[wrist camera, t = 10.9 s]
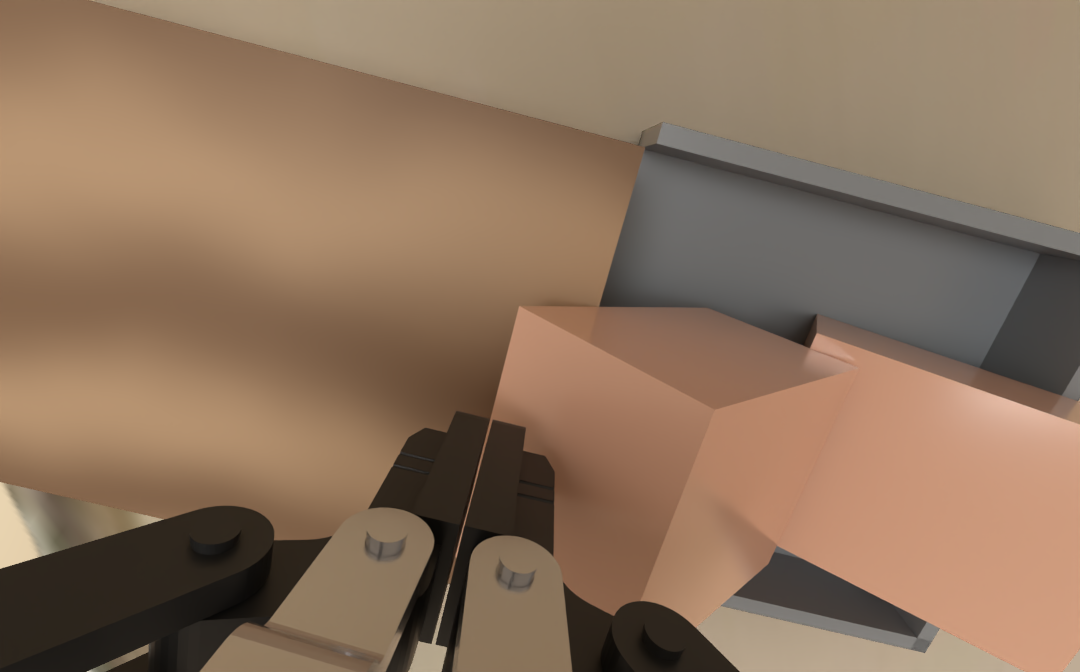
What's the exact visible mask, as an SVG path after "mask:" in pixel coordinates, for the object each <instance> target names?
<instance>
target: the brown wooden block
mask: <svg viewBox="0 0 1080 672" xmlns="http://www.w3.org/2000/svg"><path fill="white" fill-rule="evenodd" d="M644 150H645V147H642V146H638V145H635V144H631V143H627V142H623V141H619V140H616V139H612V138H608V137H604V136H600V135H597V134H593V133H589V132H585V131H581V130H578V129H574V128H570V127H566V126H563V125H559V124H555V123H551V122H547V121H544V120H540V119H536V118H532V117H528V116H525V115H521V114H517V113H513V112H510V111H506V110H502V109H498V108H494V107H491V106H487V105H483V104H479V103H475V102H472V101H468V100H464V99H460V98H457V97H453V96H449V95H445V94H441V93H438V92H434V91H430V90H426V89H422V88H419V87H415V86H411V85H407V84H403V83H400V82H396V81H392V80H388V79H385V78H381V77H377V76H373V75H369V74H366V73H362V72H358V71H354V70H350V69H347V68H343V67H339V66H335V65H332V64H328V63H324V62H320V61H316V60H313V59H309V58H305V57H301V56H297V55H294V54H290V53H286V52H282V51H279V50H275V49H271V48H267V47H263V46H260V45H256V44H252V43H248V42H244V41H241V40H237V39H233V38H229V37H225V36H222V35H218V34H214V33H210V32H207V31H203V30H199V29H195V28H191V27H188V26H184V25H180V24H176V23H172V22H169V21H165V20H161V19H157V18H154V17H150V16H146V15H142V14H138V13H135V12H131V11H127V10H123V9H119V8H116V7H112V6H108V5H104V4H101V3H97V2H93V1H89V0H0V482H3V483H7V484H12V485H16V486H21V487H25V488H29V489H34V490H38V491H43V492H47V493H51V494H56V495H60V496H65V497H69V498H73V499H78V500H82V501H87V502H91V503H95V504H100V505H104V506H109V507H113V508H117V509H122V510H126V511H131V512H135V513H139V514H144V515H148V516H153V517H157V518H161V519H168V518H171V517H174V516H178V515H181V514H184V513H188V512H191V511H194V510H198V509H202V508H207V507H213V506H239V507H245V508H249V509H252V510H254V511H257V512H259V513H261V514H262V515H264V516H265V517H266V518H267V519H268V520H269V521H270V522H271V524H272V526H273V528H274V540H310V539H320V538H326V537H330V536H333V535H334V534H335V532H336V531H337V530H338V528H339V527H340V526H341V524H342V523H343V522H344V521H345V520H346V519H348V518H349V517H350V516H352V515H354V514H356V513H358V512H361V511H364V510H368V508H369V506H370V504H371V503H372V501H373V499H374V497H375V496H376V494H377V492H378V490H379V488H380V487H381V485H382V483H383V481H384V480H385V478H386V476H387V474H388V473H389V471H390V469H391V467H393V464H394V462H395V460H396V458H397V457H398V455H399V454H400V451H401V449H402V448H403V446H404V444H405V442H406V441H407V439H408V437H410V436H411V435H413V434H415V433H417V432H418V431H420V430H422V429H423V428H430V429H434V430H438V431H442V432H446V433H447V431H448V429H449V426H450V424H451V422H452V419H453V417H454V415H455V412H456V411H460V412H464V413H468V414H473V415H477V416H481V417H485V418H489V419H491V415H492V411H493V407H494V403H495V399H496V395H497V391H498V387H499V383H500V379H501V375H502V371H503V368H504V364H505V360H506V356H507V352H508V348H509V344H510V340H511V336H512V332H513V328H514V324H515V320H516V316H517V313H518V309H519V306H572V307H599V305H600V301H601V298H602V294H603V291H604V287H605V284H606V280H607V277H608V274H609V270H610V267H611V263H612V260H613V256H614V253H615V250H616V246H617V243H618V239H619V236H620V232H621V229H622V225H623V222H624V219H625V215H626V212H627V208H628V205H629V201H630V198H631V195H632V191H633V188H634V184H635V181H636V177H637V174H638V170H639V167H640V164H641V160H642V157H643V153H644ZM489 423H490V420H489ZM488 426H489V425H488ZM487 430H488V429H487ZM486 434H487V433H486ZM485 438H486V437H485ZM484 442H485V441H484ZM460 537H461V536H460ZM457 548H458V547H457ZM456 552H457V551H456ZM455 556H456V555H455ZM455 562H456V557H455V559H454V562H453V566H452V570H451V573H450V577H449V581H448V584H450V583H451V579H452V575H453V571H454V566H455Z"/></svg>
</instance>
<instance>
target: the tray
mask: <svg viewBox="0 0 1080 672" xmlns="http://www.w3.org/2000/svg"><path fill="white" fill-rule="evenodd" d="M638 146H642V147H645V150H644V153H643V157H642V160H641V164H640V167H639V170H638V174H637V177H636V181H635V184H634V188H633V191H632V195H631V198H630V201H629V205H628V208H627V212H626V215H625V219H624V222H623V225H622V229H621V232H620V236H619V239H618V243H617V246H616V250H615V253H614V256H613V260H612V263H611V267H610V270H609V274H608V277H607V280H606V284H605V287H604V291H603V294H602V298H601V301H600V305H599V307H687V308H709V309H712V310H715V311H717V312H720V313H722V314H725V315H727V316H730V317H732V318H735V319H737V320H740V321H742V322H745V323H747V324H750V325H752V326H755V327H757V328H760V329H762V330H765V331H768V332H770V333H773V334H775V335H778V336H780V337H783V338H785V339H788V340H790V341H793V342H795V343H798V344H800V345H803V344H804V342H805V340H806V338H807V336H808V333H809V331H810V329H811V327H812V324H813V322H814V320H815V318H816V316H817V314H820V315H823V316H826V317H829V318H831V319H834V320H837V321H840V322H843V323H846V324H849V325H852V326H855V327H858V328H861V329H864V330H867V331H870V332H873V333H876V334H879V335H882V336H885V337H888V338H891V339H894V340H897V341H900V342H903V343H906V344H909V345H912V346H915V347H918V348H921V349H924V350H927V351H930V352H933V353H936V354H939V355H942V356H945V357H948V358H951V359H954V360H957V361H960V362H963V363H966V364H969V365H972V366H975V367H978V368H981V369H984V370H987V371H989V372H992V373H995V374H998V375H1001V376H1004V377H1007V378H1010V379H1013V380H1016V381H1019V382H1022V383H1025V384H1028V385H1031V386H1034V387H1037V388H1040V389H1043V390H1046V391H1049V392H1052V393H1055V394H1058V395H1061V396H1064V397H1067V398H1070V399H1073V400H1076V401H1078V400H1079V399H1080V233H1077V232H1074V231H1070V230H1066V229H1062V228H1059V227H1055V226H1051V225H1047V224H1044V223H1040V222H1036V221H1032V220H1029V219H1025V218H1021V217H1017V216H1014V215H1010V214H1006V213H1002V212H999V211H995V210H991V209H987V208H984V207H980V206H976V205H972V204H969V203H965V202H961V201H957V200H954V199H950V198H946V197H942V196H939V195H935V194H931V193H927V192H923V191H920V190H916V189H912V188H908V187H905V186H901V185H897V184H893V183H890V182H886V181H882V180H878V179H875V178H871V177H867V176H863V175H860V174H856V173H852V172H848V171H845V170H841V169H837V168H833V167H830V166H826V165H822V164H818V163H815V162H811V161H807V160H803V159H800V158H796V157H792V156H788V155H785V154H781V153H777V152H773V151H770V150H766V149H762V148H758V147H755V146H751V145H747V144H743V143H740V142H736V141H732V140H728V139H725V138H721V137H717V136H713V135H709V134H706V133H702V132H698V131H694V130H691V129H687V128H683V127H679V126H676V125H672V124H668V123H664V122H662V123H660V124H658V125H656V126H653V127H651V128H649V129H647V130H645V131H642V135H641V138H640V142H639V145H638ZM721 606H724V607H728V608H732V609H737V610H741V611H745V612H750V613H754V614H758V615H763V616H767V617H771V618H776V619H780V620H784V621H789V622H793V623H797V624H802V625H806V626H810V627H815V628H819V629H823V630H828V631H832V632H836V633H841V634H845V635H850V636H854V637H858V638H863V639H867V640H871V641H876V642H880V643H884V644H889V645H893V646H897V647H902V648H906V649H910V650H915V651H919V652H923V653H925V652H926V650H927V649H928V647H929V645H930V644H931V642H932V640H933V639H934V637H935V636H936V634H937V632H938V631H939V629H940V628H938V627H936V626H934V625H932V624H930V623H928V622H926V621H924V620H922V619H920V618H918V617H917V616H915V615H913V614H911V613H909V612H907V611H905V610H903V609H901V608H899V607H897V606H895V605H893V604H891V603H889V602H887V601H885V600H883V599H881V598H879V597H877V596H875V595H873V594H871V593H869V592H867V591H865V590H863V589H861V588H859V587H857V586H855V585H853V584H851V583H849V582H848V581H846V580H844V579H842V578H840V577H838V576H836V575H834V574H832V573H830V572H828V571H826V570H824V569H822V568H820V567H818V566H816V565H814V564H812V563H810V562H808V561H806V560H804V559H802V558H800V557H798V556H796V555H794V554H792V553H790V552H788V551H786V550H784V549H782V548H780V547H779V546H776V549H775V551H774V553H773V555H772V557H771V559H770V562H769V564H768V565H767V566H765V567H764V568H763V569H762V570H761V571H760V572H759V573H757V574H756V575H755V576H754V577H753V578H752V579H751V580H749V581H748V582H747V583H746V584H745V585H744V586H743V587H741V588H740V589H739V590H738V591H737V592H736V593H735V594H733V595H732V596H731V597H730V598H729V599H728V600H727V601H725V602H724V603H723V604H722V605H721Z"/></svg>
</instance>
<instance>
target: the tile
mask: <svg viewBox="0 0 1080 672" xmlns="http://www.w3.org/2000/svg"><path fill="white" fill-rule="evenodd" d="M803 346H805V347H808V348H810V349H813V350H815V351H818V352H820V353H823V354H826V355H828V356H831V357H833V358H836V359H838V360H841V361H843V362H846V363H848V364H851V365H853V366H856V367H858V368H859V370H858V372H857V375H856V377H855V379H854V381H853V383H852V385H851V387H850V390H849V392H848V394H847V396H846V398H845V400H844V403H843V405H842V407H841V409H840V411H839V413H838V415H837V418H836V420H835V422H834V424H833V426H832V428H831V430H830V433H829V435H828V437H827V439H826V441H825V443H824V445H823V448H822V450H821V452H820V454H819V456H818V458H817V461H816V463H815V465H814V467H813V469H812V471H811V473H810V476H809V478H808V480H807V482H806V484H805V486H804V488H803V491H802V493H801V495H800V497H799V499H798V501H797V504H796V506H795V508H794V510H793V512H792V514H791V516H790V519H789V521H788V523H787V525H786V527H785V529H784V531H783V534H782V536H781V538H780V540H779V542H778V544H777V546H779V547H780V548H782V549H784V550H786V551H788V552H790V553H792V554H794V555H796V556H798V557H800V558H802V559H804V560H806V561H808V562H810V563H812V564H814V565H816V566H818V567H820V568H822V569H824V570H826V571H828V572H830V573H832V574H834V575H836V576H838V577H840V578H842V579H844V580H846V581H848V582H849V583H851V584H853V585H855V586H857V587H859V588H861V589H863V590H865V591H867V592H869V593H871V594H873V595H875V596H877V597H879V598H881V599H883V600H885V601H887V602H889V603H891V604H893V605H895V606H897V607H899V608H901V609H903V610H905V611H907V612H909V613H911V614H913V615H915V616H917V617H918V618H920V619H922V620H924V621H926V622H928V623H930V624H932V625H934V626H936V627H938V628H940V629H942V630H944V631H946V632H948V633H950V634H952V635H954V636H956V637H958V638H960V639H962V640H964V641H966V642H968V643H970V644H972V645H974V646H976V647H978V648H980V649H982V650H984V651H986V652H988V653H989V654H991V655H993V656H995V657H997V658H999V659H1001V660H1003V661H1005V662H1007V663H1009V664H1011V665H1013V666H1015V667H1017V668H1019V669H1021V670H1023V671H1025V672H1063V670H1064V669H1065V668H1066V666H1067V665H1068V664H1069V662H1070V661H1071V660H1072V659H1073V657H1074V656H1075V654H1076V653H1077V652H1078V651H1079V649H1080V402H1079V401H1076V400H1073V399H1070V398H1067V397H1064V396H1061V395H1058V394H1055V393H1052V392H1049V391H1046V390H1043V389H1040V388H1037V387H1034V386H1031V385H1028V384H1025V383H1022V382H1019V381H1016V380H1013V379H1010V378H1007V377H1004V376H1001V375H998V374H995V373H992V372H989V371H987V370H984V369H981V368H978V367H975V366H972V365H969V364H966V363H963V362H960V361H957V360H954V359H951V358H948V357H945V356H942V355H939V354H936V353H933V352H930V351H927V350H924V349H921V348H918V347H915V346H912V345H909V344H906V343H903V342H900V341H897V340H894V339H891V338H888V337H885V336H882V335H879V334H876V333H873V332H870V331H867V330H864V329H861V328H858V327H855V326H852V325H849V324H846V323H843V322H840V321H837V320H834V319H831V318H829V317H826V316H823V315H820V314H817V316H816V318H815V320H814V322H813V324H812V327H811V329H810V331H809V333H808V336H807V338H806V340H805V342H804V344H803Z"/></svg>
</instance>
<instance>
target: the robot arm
mask: <svg viewBox="0 0 1080 672" xmlns="http://www.w3.org/2000/svg"><path fill="white" fill-rule="evenodd" d="M489 420H490V419H489V418H485V417H481V416H477V415H473V414H468V413H464V412H460V411H456V412H455V415H454V417H453V419H452V422H451V424H450V426H449V429H448V431H447V433H446V432H442V431H438V430H434V429H430V428H423V429H422V430H420V431H418V432H417V433H415V434H413V435H411V436H410V437H408V439H407V441H406V442H405V444H404V446H403V448H402V449H401V451H400V454H399V455H398V457H397V458H396V460H395V462H394V464H393V467H391V469H390V471H389V473H388V474H387V476H386V478H385V480H384V481H383V483H382V485H381V487H380V488H379V490H378V492H377V494H376V496H375V497H374V499H373V501H372V503H371V504H370V506H369V508H368V510H364V511H361V512H358V513H356V514H354V515H352V516H350V517H349V518H348V519H346V520H345V521H344V522H343V523H342V524H341V526H340V527H339V528H338V530H337V531H336V532H335V534H334V535H333V536H330V537H326V538H320V539H310V540H274V528H273V526H272V524H271V522H270V521H269V520H268V519H267V518H266V517H265V516H264V515H262V514H261V513H259V512H257V511H254V510H252V509H249V508H245V507H239V506H213V507H207V508H202V509H198V510H194V511H191V512H188V513H184V514H181V515H178V516H174V517H171V518H168V519H164V520H161V521H158V522H154V523H151V524H148V525H145V526H141V527H138V528H135V529H131V530H128V531H125V532H121V533H118V534H115V535H111V536H108V537H105V538H101V539H98V540H95V541H91V542H88V543H85V544H82V545H78V546H75V547H72V548H68V549H65V550H62V551H58V552H55V553H52V554H48V555H45V556H42V557H38V558H35V559H32V560H29V561H25V562H22V563H19V564H15V565H12V566H9V567H5V568H2V569H0V672H87V671H89V670H91V669H93V668H96V667H98V666H100V665H102V664H105V663H107V662H109V661H111V660H114V659H116V658H118V657H120V656H122V655H125V654H127V653H129V652H131V651H134V650H136V649H138V648H140V647H143V646H145V645H147V644H149V652H148V653H146V654H143V655H141V656H139V657H137V658H135V659H133V660H130V661H128V662H126V663H124V664H122V665H119V666H117V667H115V668H113V669H111V670H108V671H106V672H408V670H409V669H410V666H411V664H412V661H413V658H414V654H415V651H416V648H417V644H418V641H421V642H425V643H430V644H432V640H433V636H434V633H435V629H436V625H437V621H438V618H439V614H440V610H441V607H442V603H443V599H444V596H445V592H446V588H447V584H448V581H449V577H450V573H451V570H452V566H453V562H454V559H455V555H456V551H457V547H458V544H459V540H460V536H461V533H462V529H463V525H464V522H465V525H464V529H463V533H462V537H461V542H460V546H459V550H458V554H457V558H456V562H455V566H454V571H453V575H452V579H451V583H450V587H449V591H448V595H447V599H446V604H445V608H444V612H443V616H442V620H441V624H440V628H439V633H438V637H437V641H436V645H440V646H445V647H447V652H446V656H445V660H444V664H443V669H442V672H739V671H738V670H737V669H736V668H735V667H734V666H733V665H732V664H731V663H730V662H729V661H728V660H727V659H726V658H725V657H724V656H723V655H722V654H721V653H720V652H719V651H718V650H717V649H716V648H715V647H714V646H713V645H712V644H711V643H710V642H709V641H708V640H707V639H706V638H705V637H704V636H703V635H702V634H701V633H700V632H699V631H698V630H697V629H696V628H695V627H694V626H693V625H692V624H691V623H690V622H689V621H688V620H687V619H685V618H684V617H683V616H681V615H680V614H678V613H677V612H675V611H673V610H672V609H670V608H667V607H665V606H663V605H660V604H657V603H653V602H648V601H635V602H630V603H627V604H625V605H623V606H622V607H620V608H619V609H618V610H617V612H616V613H615V615H614V616H613V615H611V614H609V613H607V612H605V611H603V610H601V609H599V608H597V607H595V606H593V605H591V604H589V603H588V602H586V601H584V600H583V599H581V598H580V597H578V596H577V595H576V594H575V593H573V592H572V591H571V590H570V589H569V588H568V587H567V586H566V585H565V583H564V582H563V578H562V572H561V569H560V567H559V564H558V563H557V561H556V560H555V558H554V494H555V491H554V488H555V471H554V470H553V468H552V466H551V465H550V463H549V461H548V460H547V458H546V456H544V455H539V454H535V453H531V452H527V451H523V447H524V439H525V432H526V427H523V426H519V425H515V424H511V423H506V422H502V421H498V420H494V419H493V420H492V424H491V428H490V432H489V435H488V439H487V443H486V447H485V450H484V454H483V458H482V462H481V465H480V469H479V473H478V477H477V480H476V484H475V488H474V491H473V487H474V483H475V479H476V474H477V470H478V466H479V462H480V458H481V454H482V450H483V446H484V441H485V437H486V433H487V429H488V425H489ZM472 491H473V495H472ZM471 495H472V499H471ZM470 499H471V503H470ZM469 503H470V506H469ZM468 507H469V510H468ZM467 510H468V514H467ZM466 514H467V518H466ZM465 518H466V521H465Z"/></svg>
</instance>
